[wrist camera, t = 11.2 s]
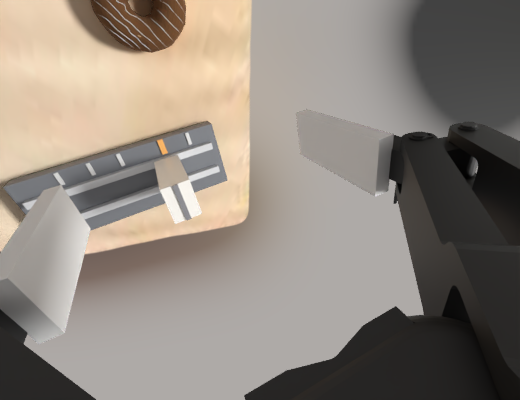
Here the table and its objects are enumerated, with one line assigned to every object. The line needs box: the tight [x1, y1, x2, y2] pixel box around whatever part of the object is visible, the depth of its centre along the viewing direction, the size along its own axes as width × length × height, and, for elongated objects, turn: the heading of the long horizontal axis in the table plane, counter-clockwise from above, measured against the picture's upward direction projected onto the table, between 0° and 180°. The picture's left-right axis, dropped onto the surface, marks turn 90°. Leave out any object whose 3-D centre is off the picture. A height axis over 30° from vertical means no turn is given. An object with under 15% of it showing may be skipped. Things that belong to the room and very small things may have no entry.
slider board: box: [3, 121, 227, 231], centre depth 40 cm, size 10×28×3 cm, turn 102°
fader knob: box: [154, 155, 202, 224], centre depth 36 cm, size 5×4×11 cm
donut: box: [91, 0, 186, 52], centre depth 31 cm, size 11×11×4 cm
